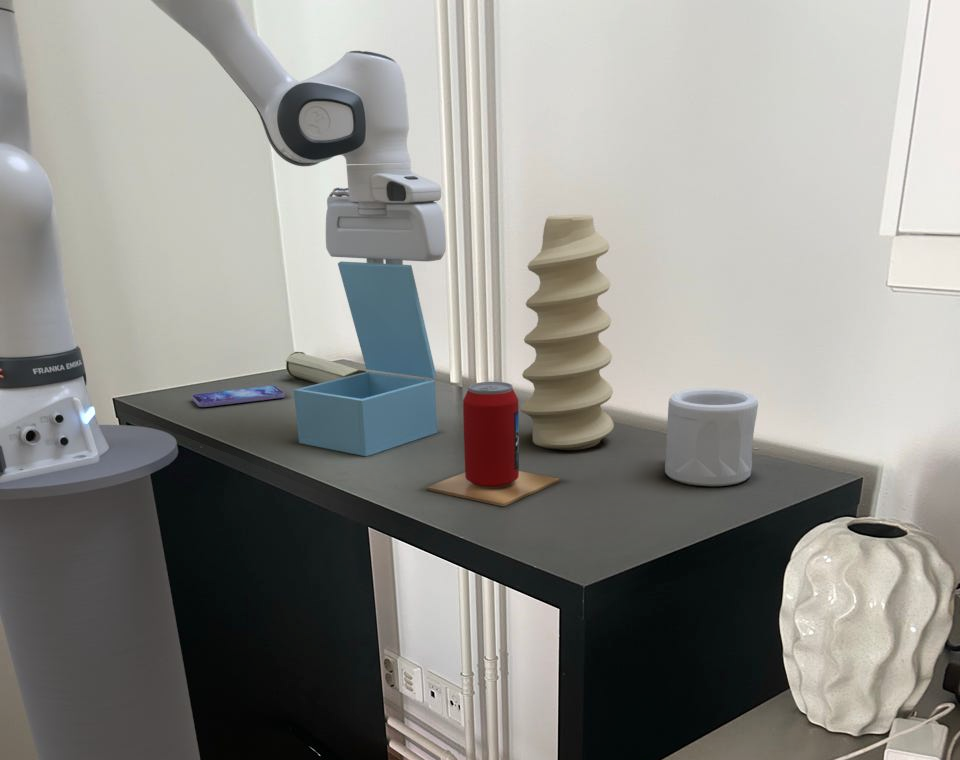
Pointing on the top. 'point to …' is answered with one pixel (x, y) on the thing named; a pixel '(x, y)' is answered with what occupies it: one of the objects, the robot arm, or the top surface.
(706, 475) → the mug
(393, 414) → the box
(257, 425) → the top surface
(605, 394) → the decorative object
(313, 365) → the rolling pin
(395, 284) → the lid
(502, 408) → the beverage can
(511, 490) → the cork mat
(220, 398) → the smartphone
